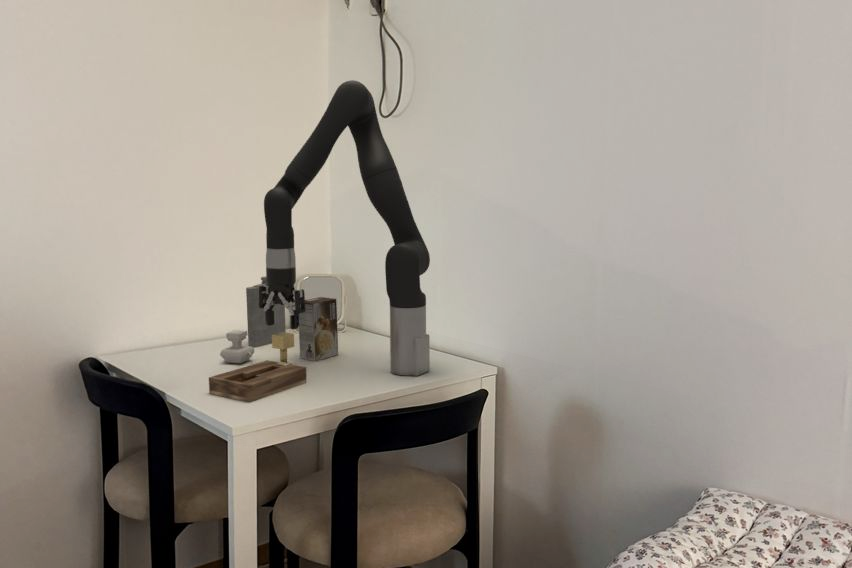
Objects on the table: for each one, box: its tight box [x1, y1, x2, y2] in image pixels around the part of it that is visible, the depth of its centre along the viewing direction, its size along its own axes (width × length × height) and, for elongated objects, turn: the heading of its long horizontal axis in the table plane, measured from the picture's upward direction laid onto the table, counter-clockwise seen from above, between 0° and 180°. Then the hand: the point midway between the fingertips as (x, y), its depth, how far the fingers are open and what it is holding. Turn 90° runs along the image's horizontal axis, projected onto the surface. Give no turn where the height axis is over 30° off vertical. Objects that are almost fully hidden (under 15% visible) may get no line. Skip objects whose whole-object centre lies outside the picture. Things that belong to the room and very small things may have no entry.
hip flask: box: [245, 276, 287, 349], centre depth 229 cm, size 16×4×20 cm, turn 153°
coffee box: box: [298, 296, 339, 362], centre depth 211 cm, size 9×6×16 cm
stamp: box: [219, 329, 255, 364], centre depth 206 cm, size 9×7×8 cm
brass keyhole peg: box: [271, 331, 295, 365], centre depth 200 cm, size 4×4×9 cm
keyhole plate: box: [208, 359, 307, 403], centre depth 182 cm, size 13×19×4 cm
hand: (282, 326), depth 199 cm, fingers open, 8 cm apart
